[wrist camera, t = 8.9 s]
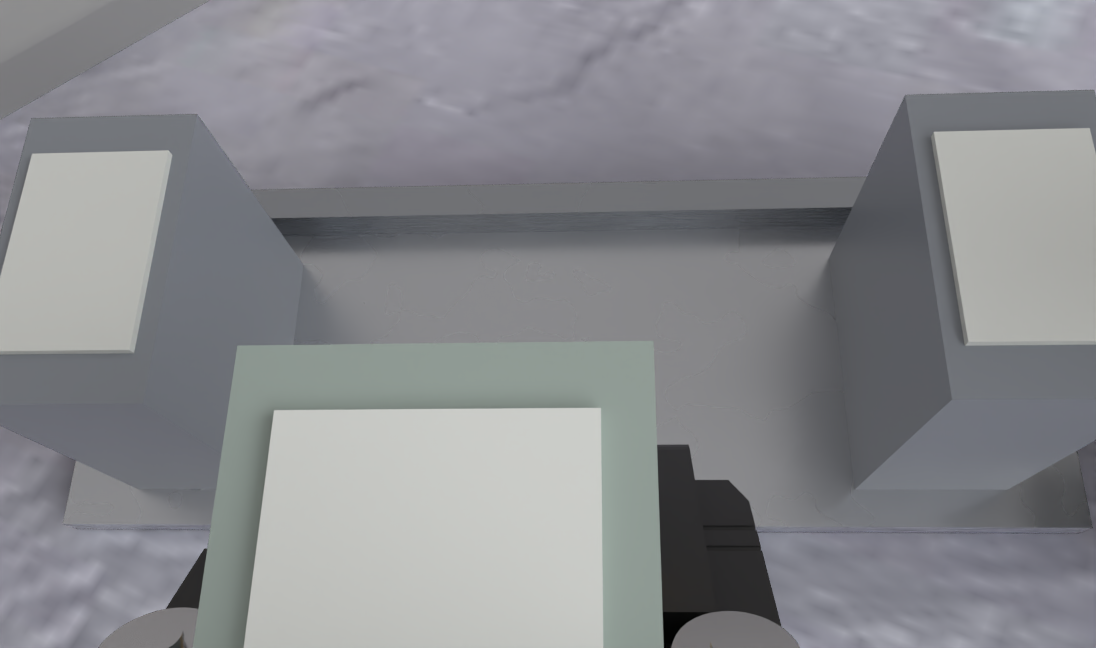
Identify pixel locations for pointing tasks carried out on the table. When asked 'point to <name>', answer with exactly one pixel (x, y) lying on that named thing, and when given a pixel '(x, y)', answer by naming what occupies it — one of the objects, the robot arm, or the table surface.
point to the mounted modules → (856, 266)
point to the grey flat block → (70, 39)
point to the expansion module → (437, 498)
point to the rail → (623, 330)
